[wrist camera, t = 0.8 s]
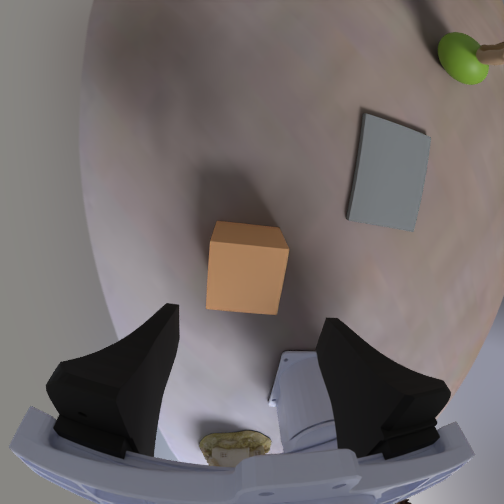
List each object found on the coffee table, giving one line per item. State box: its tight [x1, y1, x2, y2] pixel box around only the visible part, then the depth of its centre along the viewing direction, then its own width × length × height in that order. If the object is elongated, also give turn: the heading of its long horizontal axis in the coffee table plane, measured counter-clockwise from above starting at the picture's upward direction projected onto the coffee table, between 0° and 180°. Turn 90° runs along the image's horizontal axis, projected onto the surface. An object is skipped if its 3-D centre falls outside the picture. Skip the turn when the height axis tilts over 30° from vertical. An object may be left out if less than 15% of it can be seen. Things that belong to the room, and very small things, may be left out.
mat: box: [346, 114, 431, 232], centre depth 20 cm, size 9×7×1 cm
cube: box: [206, 221, 289, 315], centre depth 20 cm, size 5×5×5 cm
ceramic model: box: [199, 431, 272, 467], centre depth 30 cm, size 14×11×10 cm
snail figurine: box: [438, 32, 504, 85], centre depth 10 cm, size 5×6×12 cm
